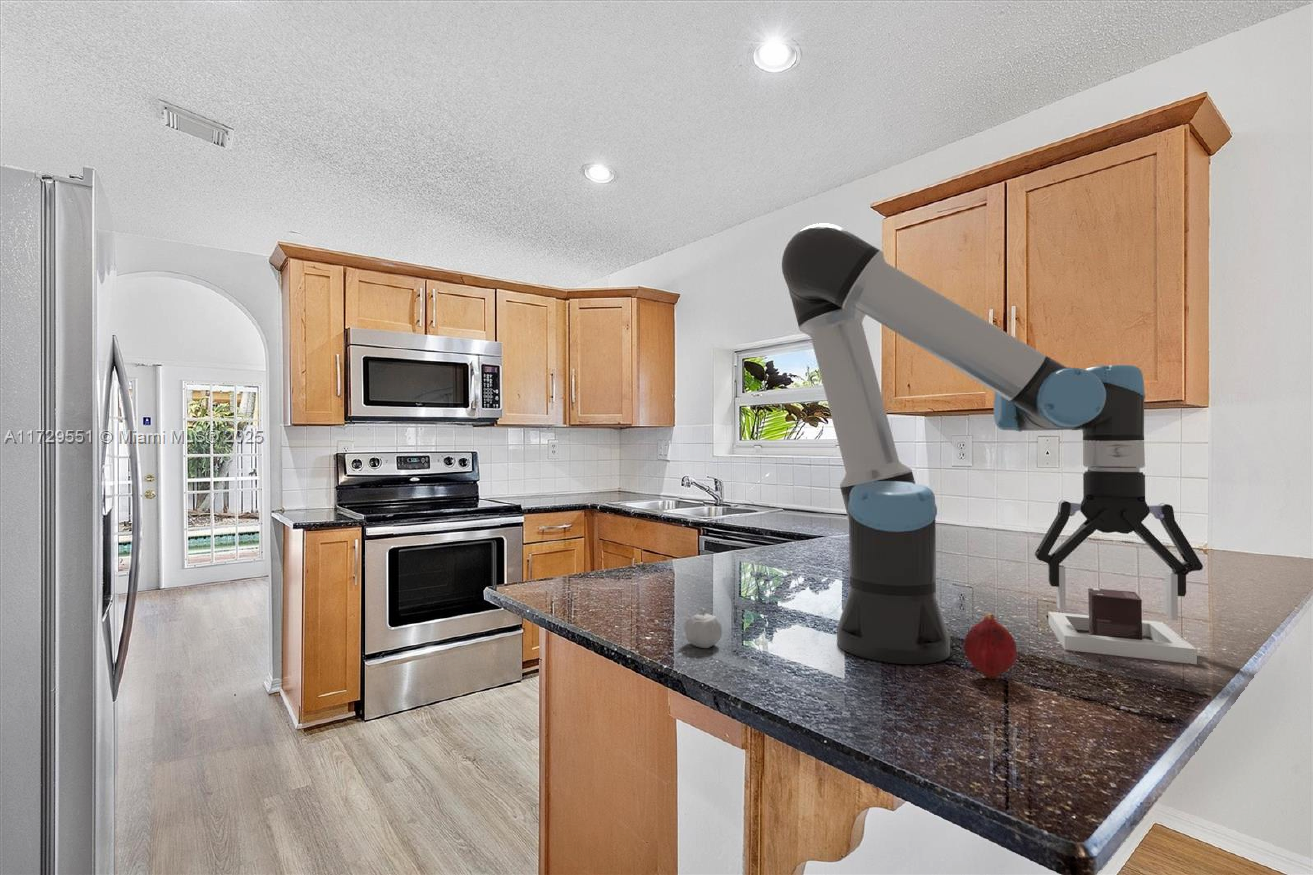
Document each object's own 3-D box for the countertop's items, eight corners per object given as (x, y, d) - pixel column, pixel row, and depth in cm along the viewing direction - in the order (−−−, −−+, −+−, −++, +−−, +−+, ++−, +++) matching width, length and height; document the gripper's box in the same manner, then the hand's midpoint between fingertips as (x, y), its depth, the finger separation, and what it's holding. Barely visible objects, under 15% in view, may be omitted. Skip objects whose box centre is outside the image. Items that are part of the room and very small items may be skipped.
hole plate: (1064, 649, 91) (1064, 635, 91) (1048, 623, 105) (1048, 611, 105) (1197, 664, 85) (1196, 649, 85) (1161, 634, 99) (1161, 621, 99)
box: (1143, 651, 91) (1142, 599, 91) (1092, 645, 94) (1091, 594, 94) (1136, 640, 96) (1136, 591, 96) (1088, 634, 99) (1087, 587, 99)
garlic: (687, 638, 96) (688, 603, 96) (724, 640, 95) (724, 605, 95) (681, 650, 90) (681, 613, 90) (719, 653, 89) (719, 615, 89)
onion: (1024, 689, 76) (1023, 621, 76) (971, 685, 77) (971, 618, 77) (1007, 672, 82) (1007, 609, 82) (959, 669, 83) (959, 606, 83)
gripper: (1020, 469, 97) (1021, 610, 97) (1230, 472, 87) (1232, 629, 87) (1015, 468, 104) (1016, 599, 104) (1209, 470, 94) (1211, 616, 94)
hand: (1114, 613), depth 95 cm, fingers open, 13 cm apart
